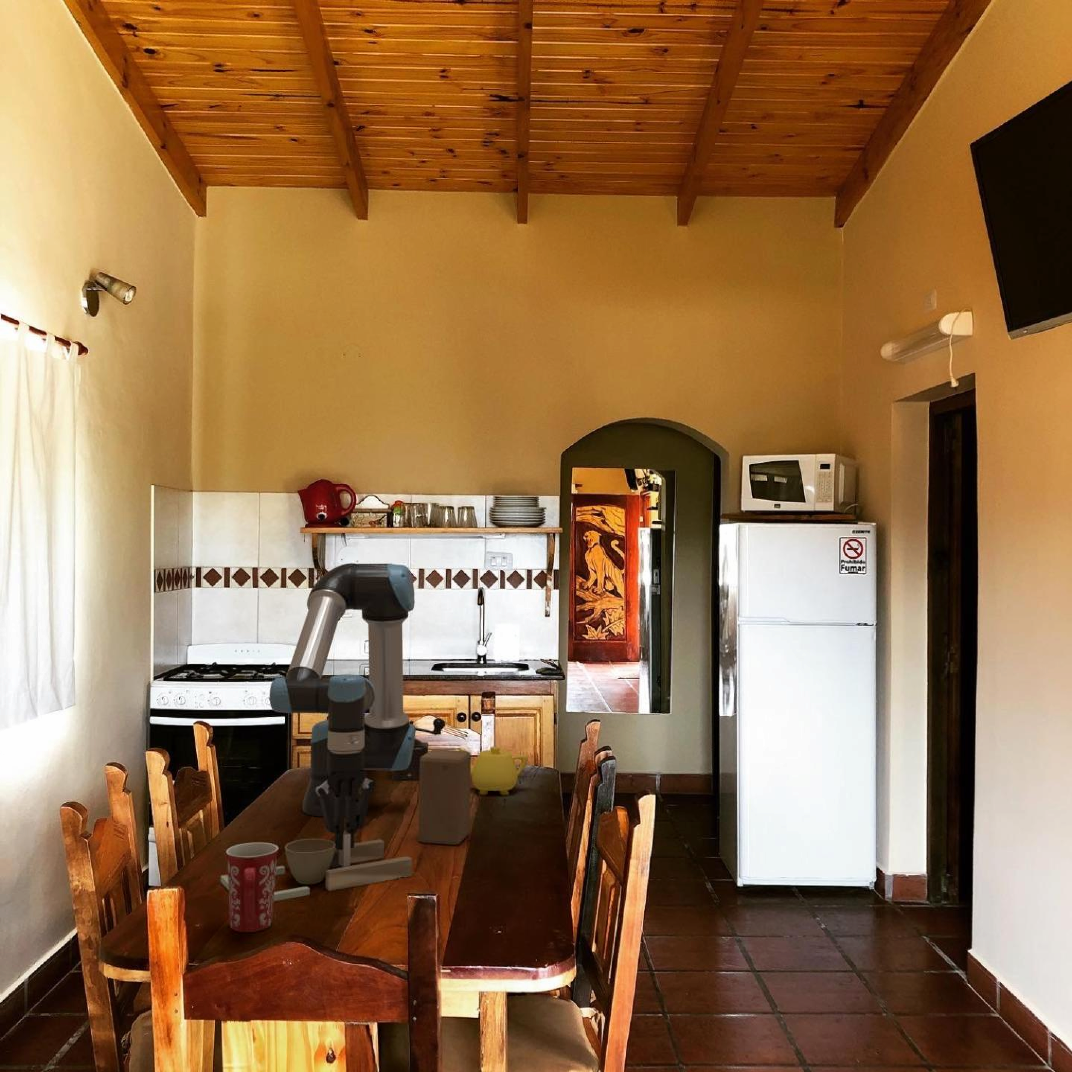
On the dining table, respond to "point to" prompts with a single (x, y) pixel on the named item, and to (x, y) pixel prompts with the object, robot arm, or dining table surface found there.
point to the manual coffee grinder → (418, 753)
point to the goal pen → (280, 894)
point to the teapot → (496, 770)
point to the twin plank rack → (366, 867)
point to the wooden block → (444, 796)
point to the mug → (251, 885)
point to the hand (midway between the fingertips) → (344, 864)
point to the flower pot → (309, 859)
